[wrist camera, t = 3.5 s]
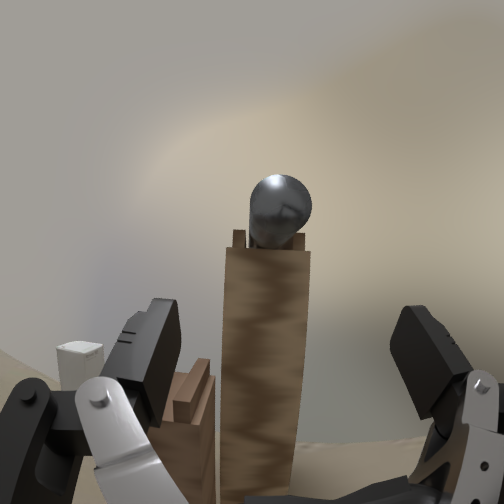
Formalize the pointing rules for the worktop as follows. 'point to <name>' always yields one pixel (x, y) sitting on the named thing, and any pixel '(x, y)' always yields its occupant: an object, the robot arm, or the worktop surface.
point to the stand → (261, 365)
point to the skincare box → (79, 363)
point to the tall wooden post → (189, 434)
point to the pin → (277, 211)
